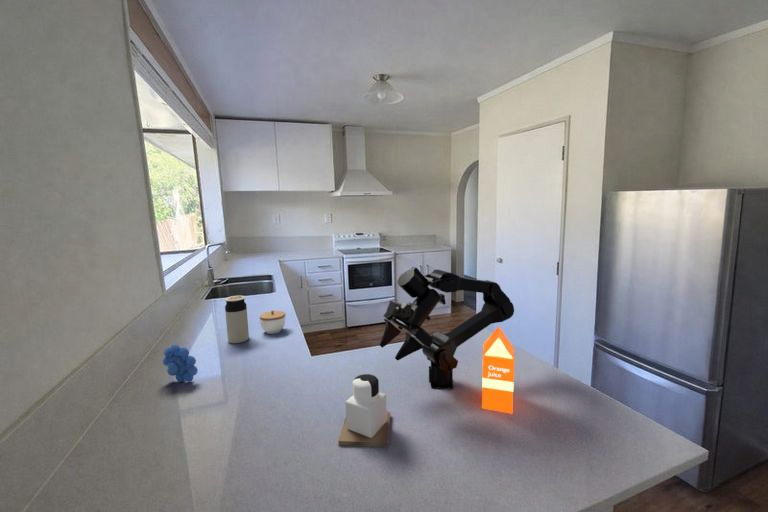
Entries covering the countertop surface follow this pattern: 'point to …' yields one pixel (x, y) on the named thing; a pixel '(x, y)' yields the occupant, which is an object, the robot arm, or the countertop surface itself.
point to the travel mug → (236, 319)
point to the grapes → (180, 363)
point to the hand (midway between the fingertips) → (388, 352)
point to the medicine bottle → (366, 406)
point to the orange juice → (498, 373)
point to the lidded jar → (272, 321)
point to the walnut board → (360, 440)
